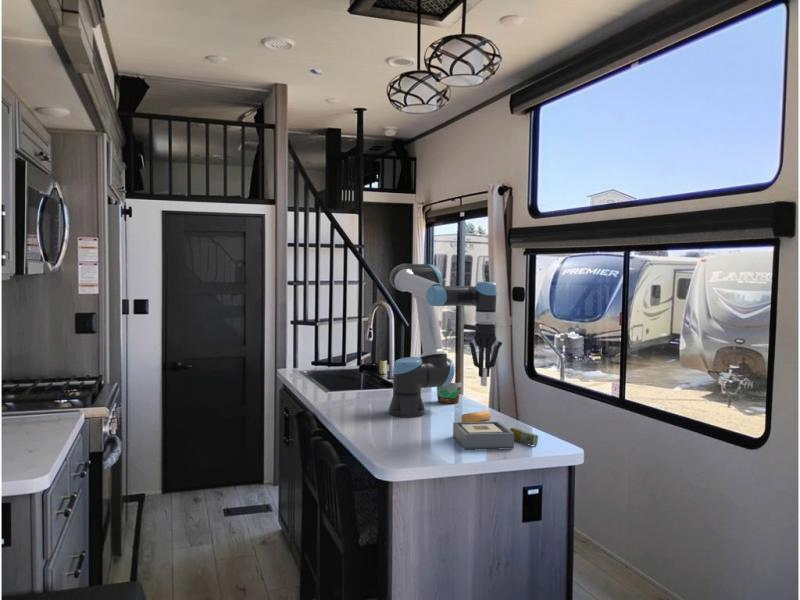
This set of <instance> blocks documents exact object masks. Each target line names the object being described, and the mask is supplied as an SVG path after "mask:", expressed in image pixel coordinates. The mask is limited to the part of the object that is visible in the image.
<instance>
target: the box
mask: <svg viewBox="0 0 800 600" xmlns="http://www.w3.org/2000/svg"><path fill="white" fill-rule="evenodd" d="M452 437H453V438H454V439H455V440H456V442H457V441H458V442H457V443H458V444H459V445H460V446H461V447H462V448H463V450H465V451H479V450H478V449H487V450H500V449H499V448H515V447H514V446H515V440H514V433H513V432H512V431H510V429H509V428H508V427H506V426H505V425H504V424H503V423H501V422H500V421H497V420H496V421H480V422H462V421H461V422H459V421H457V422H453V425H452ZM475 449H477V450H475Z"/></svg>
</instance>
